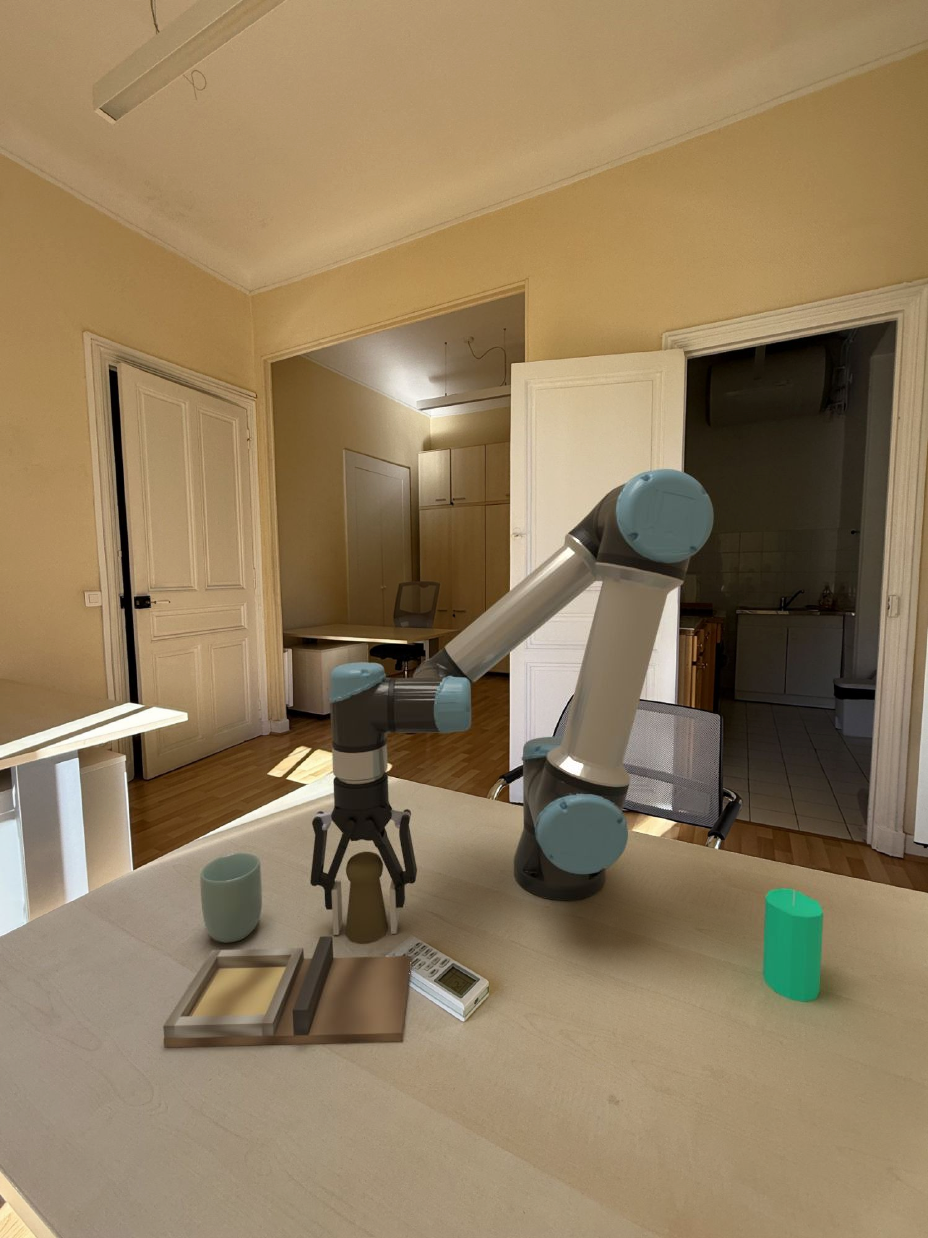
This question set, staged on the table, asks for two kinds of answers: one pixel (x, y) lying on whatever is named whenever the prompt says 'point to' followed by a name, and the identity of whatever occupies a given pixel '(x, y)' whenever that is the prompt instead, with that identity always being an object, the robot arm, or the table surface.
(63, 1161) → the table surface
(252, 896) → the cup
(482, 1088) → the table surface
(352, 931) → the brown game pawn
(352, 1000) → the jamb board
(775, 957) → the candle
